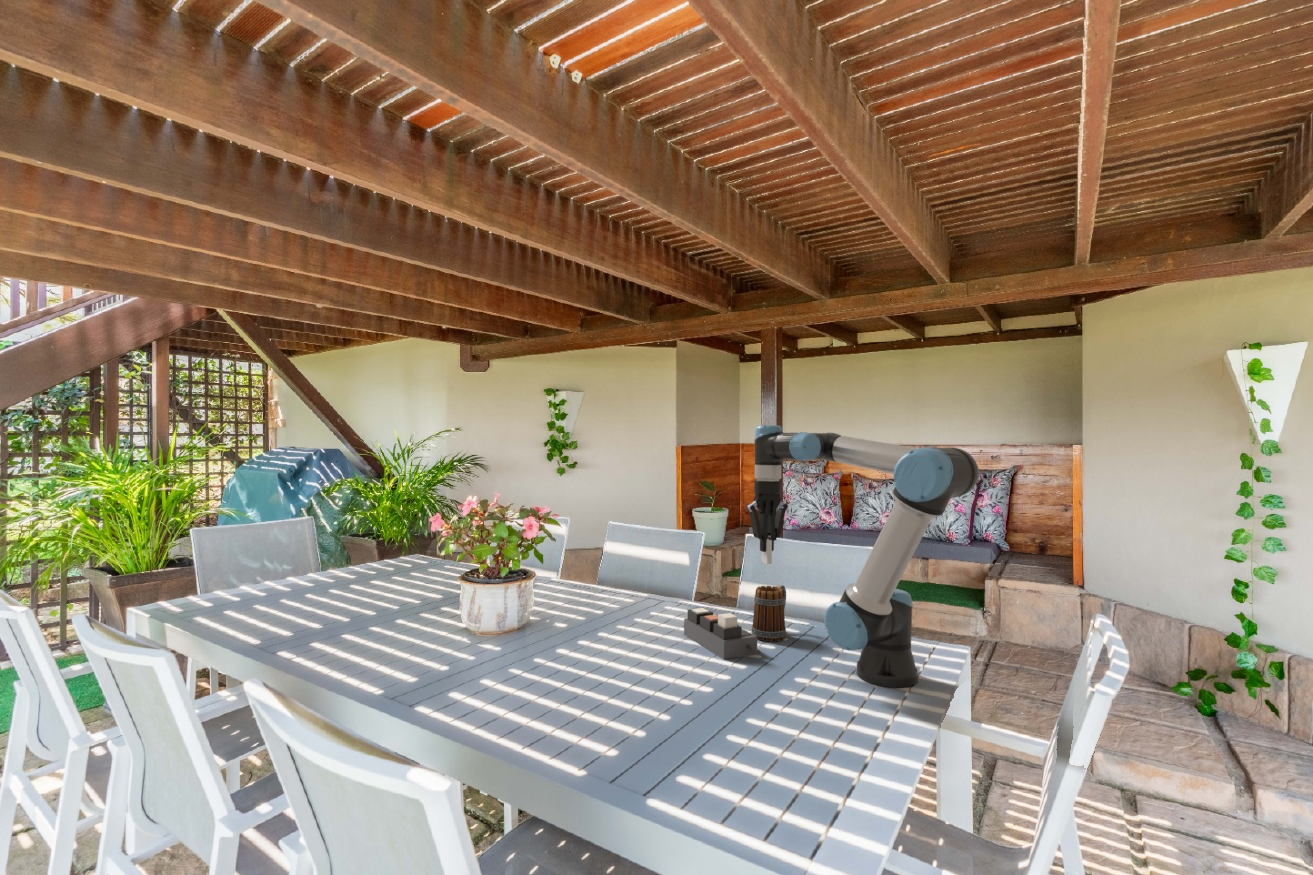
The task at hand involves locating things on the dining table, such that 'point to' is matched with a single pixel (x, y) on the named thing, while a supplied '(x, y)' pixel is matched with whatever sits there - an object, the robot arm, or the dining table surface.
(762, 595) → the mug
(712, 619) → the button
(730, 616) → the button
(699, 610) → the button
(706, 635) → the push button switch box
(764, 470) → the robot arm
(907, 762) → the dining table surface
